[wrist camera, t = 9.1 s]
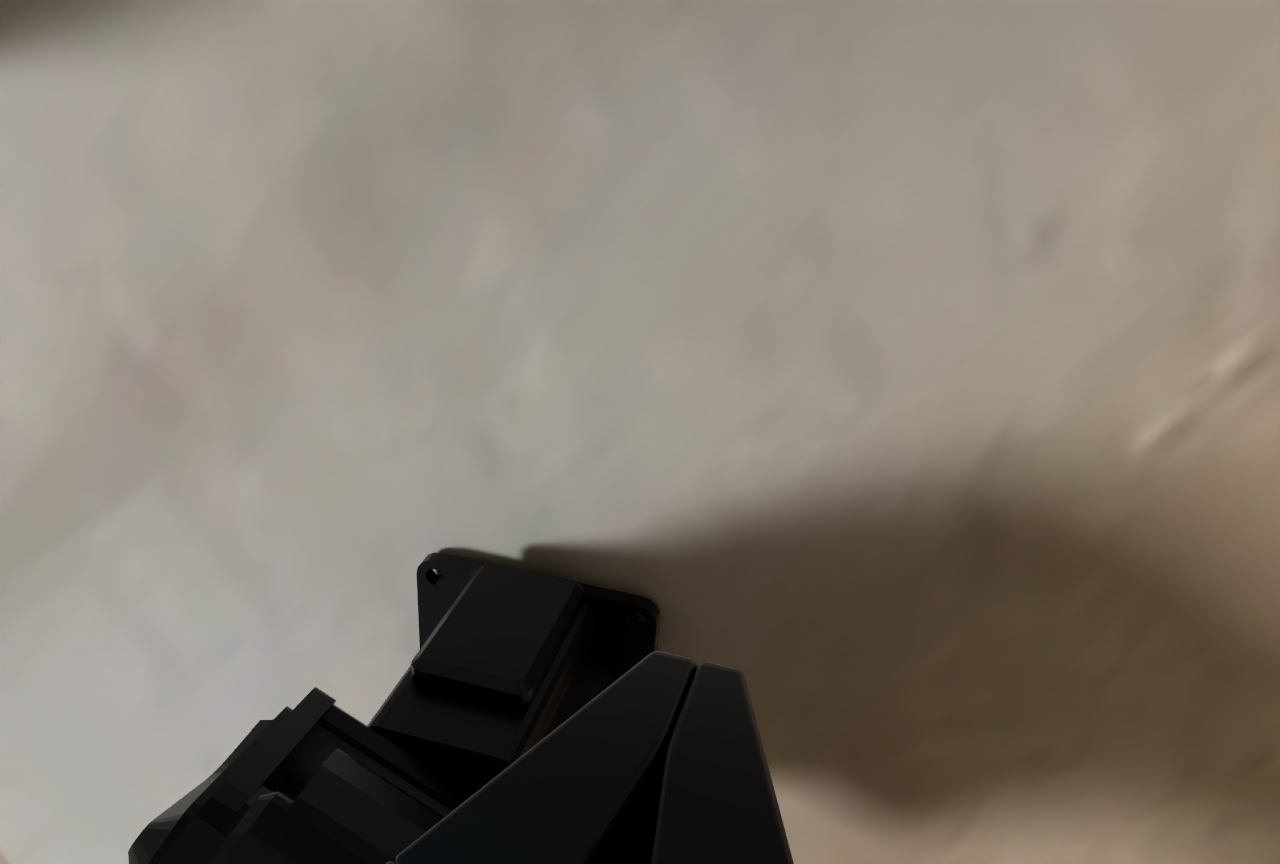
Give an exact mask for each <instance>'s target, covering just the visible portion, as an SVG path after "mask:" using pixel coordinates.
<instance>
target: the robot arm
mask: <svg viewBox="0 0 1280 864" xmlns="http://www.w3.org/2000/svg"><path fill="white" fill-rule="evenodd" d="M433 569H436V570H438V571H439V572H440V573H441V574H442V576H443V577H441V576H439V575H437V574H436V573H435V572H434V571H433ZM417 590H418V613H419V636H420V650H419V652H418V653H417V654H416V656H415V657H414V659H413V661H412V664H411V666H410V667H409V669H408V670H407V671H406V673H405V674H404V676H403V677H402V678H401V680H400V681H399V682H398V684H397V685H396V687H395V688H394V689H393V691H392V692H391V694H390V695H389V696H388V698H387V699H386V701H385V702H384V703H383V705H382V706H381V708H380V709H379V710H378V712H377V713H376V714H375V716H374V717H373V719H372V720H371V721H370V723H369V724H368V726H366V725H365V724H363V723H362V722H360V721H359V720H357V719H355V718H354V717H352V716H351V715H349V714H348V713H346V712H345V711H343V710H342V709H340V708H338V707H337V706H335V705H334V703H335V702H336V700H335V699H333V698H331V697H330V696H328V695H327V694H325V693H324V692H322V691H321V690H319V689H318V688H316V687H315V688H314V689H313V690H312V691H311V692H310V693H309V694H308V695H307V696H306V697H305V698H304V699H303V700H302V701H301V702H300V703H299V704H298V705H297V706H296V708H295V709H294V710H292V709H291V708H289V707H286V708H285V709H284V710H283V711H282V712H281V713H280V714H279V715H278V716H277V717H276V718H275V719H274V720H260V721H259V722H258V724H257V725H256V726H255V727H254V728H253V729H252V731H251V732H250V733H249V734H248V735H247V736H246V738H245V739H244V740H243V741H242V742H241V743H240V744H239V746H238V747H237V748H236V749H235V750H234V751H233V753H232V754H231V755H230V756H229V757H228V758H227V759H226V760H225V762H224V763H223V764H222V765H221V766H220V767H219V768H218V769H217V770H216V771H215V772H214V773H213V774H212V775H211V776H210V777H209V778H207V779H206V780H205V781H204V782H202V783H201V784H200V785H199V786H197V787H196V788H195V789H193V790H192V791H191V792H189V793H188V794H187V795H186V796H184V797H183V798H182V799H180V800H179V801H178V802H176V803H175V804H174V805H172V806H171V807H170V808H169V809H167V810H166V811H165V812H163V813H162V814H161V815H159V816H158V817H157V818H155V819H154V820H153V821H152V822H150V823H149V824H148V825H147V827H146V828H145V829H144V830H143V831H142V832H141V834H140V835H139V836H138V837H137V839H136V840H135V842H134V843H133V844H132V846H131V848H130V849H129V852H128V856H129V864H794V863H793V859H792V855H791V852H790V848H789V844H788V840H787V836H786V833H785V829H784V825H783V821H782V817H781V814H780V810H779V806H778V802H777V798H776V795H775V791H774V787H773V783H772V779H771V776H770V772H769V768H768V764H767V760H766V757H765V753H764V749H763V745H762V741H761V738H760V734H759V730H758V726H757V722H756V719H755V715H754V711H753V707H752V703H751V700H750V696H749V692H748V688H747V684H746V680H745V677H744V675H743V673H742V671H741V670H739V669H737V668H734V667H729V666H725V665H721V664H716V663H712V662H707V661H703V662H701V663H700V664H699V665H698V666H697V665H696V662H695V661H694V660H693V659H692V658H690V657H685V656H681V655H677V654H672V653H668V652H663V651H657V647H658V636H659V626H660V610H659V609H658V607H657V605H656V604H655V603H654V602H652V601H651V600H650V599H647V598H645V597H642V596H637V595H633V594H628V593H623V592H619V591H614V590H610V589H605V588H600V587H596V586H591V585H586V584H582V583H577V582H574V581H570V580H565V579H561V578H556V577H552V576H547V575H542V574H538V573H533V572H528V571H524V570H519V569H515V568H510V567H505V566H501V565H496V564H491V563H485V562H480V561H475V560H471V559H466V558H462V557H457V556H452V555H448V554H443V553H432V554H429V555H428V556H427V557H426V558H425V559H424V561H423V562H422V563H421V564H420V565H419V567H418V569H417ZM632 614H640V615H642V616H643V617H644V618H645V619H646V621H640V620H638V619H636V618H635V617H634V616H633V615H632Z"/></svg>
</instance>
